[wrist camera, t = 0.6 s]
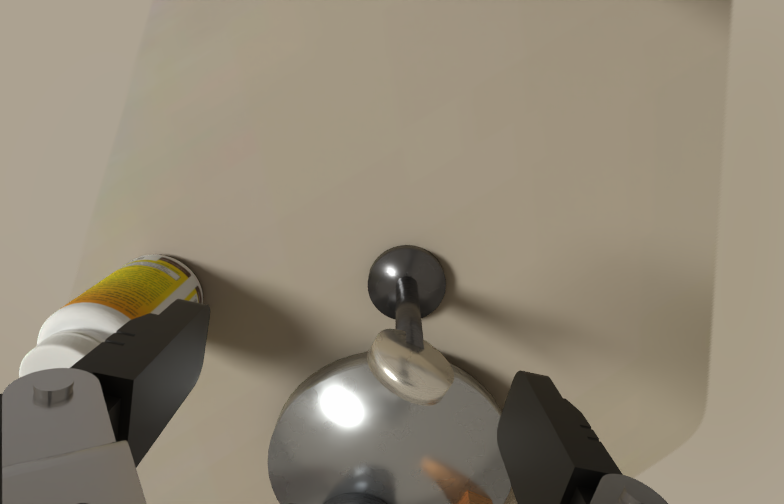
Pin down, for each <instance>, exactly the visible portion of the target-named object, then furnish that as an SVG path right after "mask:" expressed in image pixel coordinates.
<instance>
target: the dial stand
mask: <svg viewBox="0 0 784 504" xmlns="http://www.w3.org/2000/svg"><path fill="white" fill-rule="evenodd" d="M445 289H446V282H445V276H444V272H443V269H442V266H441V265H440V263H439V261H438V260H437V259H436V258H435V257H434V256H433V255H432V254H431V253H430V252H428V251H427V250H425V249H423V248H420V247H417V246H411V245H403V246H397V247H393V248H391V249H389V250H387V251H385V252H384V253H382V254H381V255H380V256H379V257H378V258H377V259H376V260H375V262H374V263H373V265H372V267H371V269H370V273H369V278H368V292H369V296H370V298H371V301H372V302H373V304H374V305H375V307H376V308H377V309H378V310H379V311H380V312H381V313H383V314H384V315H386V316H388V317H390V318H393V319H396V329H386V330H383V331H381V332H380V333H379V334H378V336H377V337H376V339H375V341H374V343H373V344H372V346H371V348H370V350H369V352H368V354H367V363H368V366H369V368H370V370H371V372H372V373H373V375H374V376H375V377H376V379H377V380H378V381H379V382H380V383H381V384H382V385H383V386H384V387H385V388H387V389H388V390H389V391H390V392H392V393H393V394H395V395H396V396H398V397H400V398H402V399H404V400H406V401H408V402H411V403H414V404H418V405H424V406H431V405H435V404H437V403H439V402H440V401H441V400H442V398H443V397H444V395H445V394H446V392H447V391H448V389H449V388H450V386H451V385H452V383H453V381H454V372H453V370H452V367H451V365H450V364H449V362H448V361H447V360H446V358H445V357H444V356H443V355H442V354H441V353H440V352H439V351H438V350H437V349H436V348H434V347H433V346H432V345H431V344H429V343H428V342H426V341H425V340H423V332H422V323H421V318H423V317H425V316H427V315H429V314H430V313H432V312H433V311H434V310H435V309H436V308H437V307H438V306H439V304H440V303H441V301H442V299H443V297H444V294H445Z"/></svg>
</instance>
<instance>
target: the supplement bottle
mask: <svg viewBox="0 0 784 504" xmlns="http://www.w3.org/2000/svg"><path fill="white" fill-rule="evenodd" d="M176 299H182V300H187V301H192V302H197V303H202V304H203V293H202V288H201V285H200V283H199V281H198V279H197V277H196V276H195V275H194V273H193V272H192V271H191V270H190V269H189V268H188V267H187V266H186V265H184V264H183V263H181V262H180V261H178V260H176V259H174V258H171V257H168V256H164V255H145V256H141V257H138V258H136V259H134V260H132V261H130V262H129V263H127V264H126V265H124V266H123V267H121V268H120V269H118V270H117V271H115V272H114V273H112V274H111V275H109V276H108V277H106V278H105V279H103V280H102V281H100V282H99V283H97V284H96V285H95V286H93V287H91V288H90V289H89V290H87V291H86V292H84V293H83V294H81V295H80V296H78V297H77V298H75V299H74V300H72V301H71V302H69V303H68V304H66V305H65V306H63V307H62V308H60V309H59V310H58V311H56V312H55V313H54V314H52V315H51V316H50V317H49V318H48V319H47V320H46V321H45V323H44V324H43V326H42V328H41V329H40V332H39V335H38V339H37V346H36V347H35V348H34V349H32V350H31V351H30V352H28V353H27V355H26V356H25V357H24V358H23V360H22V362H21V365H20V369H19V376H20V377H23V376H25V375H27V374H30V373H33V372H37V371H41V370H46V369H53V368H70V367H71V366H73V365H74V364H75V363H76V362H78V361H79V360H80V359H81V358H83V357H84V356H85V355H87V354H88V353H89V352H90V351H92V350H93V349H94V348H95V347H97V346H98V345H99V344H100V343H102V342H105V339H107V338H108V337H109V336H111V335H112V334H113V333H116V331H117V330H118V329H119V328H121V327H122V326H123V325H124V324H126V323H127V322H128V321H129V320H132V319H135V318H137V317H140V316H143V315H146V314H149V313H152V314H157V315H159V314H160V313H161V312H162V311H164V310H165V309H166V308H167V307H168V306H169V305H170V304H172V303H173V302H174V301H175V300H176Z"/></svg>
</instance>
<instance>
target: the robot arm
mask: <svg viewBox="0 0 784 504" xmlns="http://www.w3.org/2000/svg"><path fill="white" fill-rule="evenodd" d="M209 318H210V307H209V305H206V304H202V303H197V302H192V301H187V300H182V299H176V300H175V301H174V302H173V303H172V304H170V305H169V306H168V307H167V308H166V309H165V310H164V311H162V312H161V313H160V314H159V315H157V314H152V313H149V314H146V315H143V316H140V317H137V318H135V319H132V320H129V321H128V322H127V323H126V324H124V325H123V326H122V327H121V328H119V329H118V330H117V331H116V333H113V334H112V335H111V336H109V337H108V338H107V339H105V342H102V343H100V344H99V345H98V346H97V347H95V348H94V349H93V350H92V351H90V352H89V353H88V354H87V355H85V356H84V357H83V358H81V359H80V360H79V361H78V362H76V363H75V364H74V365H73V366H71V367H70V368H53V369H46V370H41V371H37V372H33V373H30V374H27V375H25V376H23V377H20V378H19V379H17V380H15V381H13V382H12V383H11V384H10V385H8V387H7V388H6V389H5V390H4V392H3V394H0V504H146V500H145V497H144V494H143V490H142V487H141V484H140V480H139V477H138V474H137V470H136V467H137V466H138V464H139V463H140V462H141V460H142V459H143V457H144V456H145V455H146V453H147V452H148V450H149V449H150V448H151V446H152V445H153V443H154V442H155V441H156V439H157V438H158V436H159V435H160V434H161V432H162V431H163V429H164V428H165V427H166V425H167V424H168V422H169V421H170V420H171V418H172V417H173V415H174V414H175V413H176V411H177V410H178V408H179V407H180V406H181V404H182V403H183V401H184V400H185V399H186V397H187V396H188V394H189V393H190V392H191V390H192V389H193V387H194V386H195V384H196V382H197V380H198V378H199V375H200V372H201V369H202V365H203V360H204V353H205V346H206V339H207V332H208V325H209ZM497 443H498V448H499V450H500V453H501V456H502V459H503V462H504V465H505V468H506V471H507V474H508V477H509V480H510V483H511V486H512V489H513V492H514V494H515V497H516V500H517V503H518V504H668V503H667V502H666V501H665V500H664V499H663V498H662V497H661V496H660V495H659V494H657V493H656V492H655V491H654V490H653V489H651V488H650V487H648V486H647V485H645V484H643V483H641V482H639V481H638V480H636V479H633V478H631V477H628V476H625V475H623V474H622V473H621V471H620V470H619V468H618V467H617V465H616V464H615V462H614V461H613V459H612V458H611V456H610V455H609V453H608V452H607V450H606V449H605V447H604V446H603V444H602V443H601V442H599V438H598V437H597V435H596V434H595V432H594V431H593V430H591V426H590V425H589V423H588V422H587V420H586V419H585V417H584V416H583V414H582V413H581V412H580V411H579V410H578V409H577V408H576V407H574V406H573V405H572V404H571V403H570V402H569V401H568V400H566V399H563V398H562V396H561V395H560V393H559V391H558V390H557V388H556V387H555V385H554V384H553V382H552V380H551V379H550V378H549V377H548V376H544V375H539V374H534V373H530V372H525V371H518V372H517V373H516V375H515V377H514V379H513V382H512V385H511V388H510V390H509V393H508V396H507V399H506V402H505V405H504V408H503V411H502V414H501V416H500V419H499V423H498V428H497Z"/></svg>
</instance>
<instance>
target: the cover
mask: <svg viewBox="0 0 784 504" xmlns="http://www.w3.org/2000/svg"><path fill="white" fill-rule="evenodd" d="M324 504H388V503H386V502H385V501H384V500H382V499H380V498H379V497H376V496H374V495H371V494H367V493H361V492H349V493H343V494H339V495H336V496H334V497H332V498H330V499H329V500H327V501H326V502H325V503H324Z"/></svg>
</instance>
